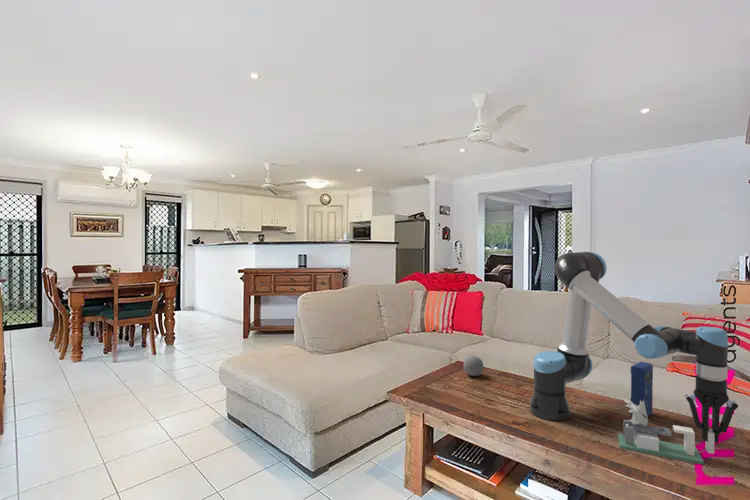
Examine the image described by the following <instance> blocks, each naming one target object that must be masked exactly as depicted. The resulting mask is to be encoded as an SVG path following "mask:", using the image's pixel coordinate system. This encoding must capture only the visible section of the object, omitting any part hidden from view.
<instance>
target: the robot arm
mask: <svg viewBox="0 0 750 500" xmlns="http://www.w3.org/2000/svg"><path fill="white" fill-rule="evenodd" d="M607 268H608V267H607V263H606V261H605V259H604V258H603V257H602V256H601V255H599V254H598V253H596V252H594V251H593V252H592V251H591V252H590V251H578V252H576V251H575V252H566V253H563V254H562V255H560V256H559V257H558V258H557V259H556V261H555V264H554V273H555V276H556V277H557V279H558V280H559V281H560V282H561V283H562V285H563V286H565V287H566V288H567V289H568V290H569V291H568V299H567V306H566V311H565V318H564V320H565V322H564V328H563V333H562V334H563V336H562V342H560V343H559V344H558V345H557V350H556V351H554V350H552V351H551V350H549V351H541V352H538V353H537V354H535V356H534V358H533V360H534V361H533V392H532V393H533V394H532V395H531V399H530V401H529V406H528V407H529V408H528V409H529V412H530V413H531V414H532V415H534V416H535V417H538V418H540V419H544V420H548V421H558V422H559V421H565V420H569V419H570V418H571V407H570V405H569V401H568V398H567V396H566V390H567V389H566V385H567V384H569V383H572V382H577V381H582V380H583V379H585V378H587V377H588V376H589V375H590V374H591V372H592V370H593V360H592V359H591V357H590V355H589V354H590V353H589V352H590V351H589V350H588V349H587V347H586V346H587V345H586V343H587V339H588V338H587V337H588V330H589V322H590V317H591V311H592V310H591V309H592V307H593V308H594V309H595V310H597V312H598V313H600V314H601V315H602V316H603V317H604V318H606V319H607V320H608V321H609V322H610V323H611V324H612V325H614V326H615V327H617V328H618V330H619V331H621V332H622V333H623V334H624V335H626V337H627V338H629V340H631V341H632V342H633V343H634V348H635V350H636V352H637V353H638V354H639V355H640V356H641V357H643V358H645V359H647V360H652V359H660V358H663V357H665V356H668V355H671V354H675V353H683V354H687V355H691V356H695V357H696V358H695V362H696V363H695V374H696V376H695V389H694V390H693V392H692V393H691V394H684V398H685V399H686V401H687V402H688V404H689V409H690V412H691V415H692V419H693V422H694V425H695V427H696V428H697V429H700V430H701V439H702V440H703V441H705V450H706V452H707V453H708V454H712V455H714V454H715V444H718V443H719V437H720V436H719V435H720V433H724V434H725V433H727V432H728V429H729V425H730V423H731V420H732V417H733V414H734V411H736V410H737V409H738V407H739V405H738V403H737V402H736V401H735V400H731V399H730V398H729V395H728V381H727V379H728V353H729V343H728V342H729V339H728V333H727V331H726V330H725V329H723V328H719V327H715V326H698V327H697V328H696V330H695V331H692V330H686V329H681V328H676V327H671V326H663V325H662V326H661V325H658V326H656V327H653V326H652V325H650V324H649V323H648V322H647V320H644V319H643V318H642V317H641V316H640V315H638V313H636V312H635V311H633V309H632V308H630V307H629V306H628V305H626V304H625V303H624V302H622V301H621V300H620V299H619V298H618V297H617V296H616V295H614V294H613V293H612V292H611V291H609V290H608V289H607V288H606V287H605V286H604V285H602V284H601V283H600V280H601V279H602V278H603V277H604V276H605V275H606V273H607ZM696 400H698V402H699V403H700V405H701V421H700V417H699V413H698V411H697V410H698V409H697V406H696V403H695V402H696ZM724 405H726V406H725V409H724V412H723V416H722V418H721V420H720V412H721V408H722V406H724ZM710 408H711V429H710V426H709V424H710V423H709V422H710Z"/></svg>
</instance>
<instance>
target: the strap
mask: <svg viewBox="0 0 750 500" xmlns="http://www.w3.org/2000/svg"><path fill="white" fill-rule="evenodd" d="M625 426H629V427H634V430H635V431H642V432H648V433H655V434H657V435H663V436H668V437H672V432H671V430H670V428H669V427H662V426H652V425H651V426H650V425H647V426H646V425H643V424H641V425H639V424H632V423H630V422H625Z"/></svg>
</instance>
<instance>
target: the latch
mask: <svg viewBox="0 0 750 500" xmlns="http://www.w3.org/2000/svg"><path fill="white" fill-rule="evenodd" d="M672 429H673V431H674V433H677V434H683V445H684V450H685V452H686V454H688V455H693V456H694V455H695V448H696V447H695V445H696V444H695V443H696V442H695V441H696V440H695V439H696V437H695V436H696V435H695V434H696V432H695V431H694V429H693V427H687V426H681V425H675V424H673V425H672Z"/></svg>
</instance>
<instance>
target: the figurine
mask: <svg viewBox="0 0 750 500" xmlns="http://www.w3.org/2000/svg"><path fill="white" fill-rule="evenodd" d="M623 402H624V403H625V405H624V406H625V408H626V407H627V408H629V410H628V412H629V414H630V413H633V416H631V417H632V418H631V419H628V420H629V421H632V424H639V425H646V426H649V425H648V423H649V418H648V417H649V416H647V413H646V408H645V404H644V400H643V402H641V400H640V406H639V405H637V406H636V404H633V402H632V401H631V400H630V399H628V398H626V399H624V400H623ZM626 403H627V404H626ZM641 413H642V414H644V415H645V416H646V418H645V417H644V416H643V415H642V414H641Z"/></svg>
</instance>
